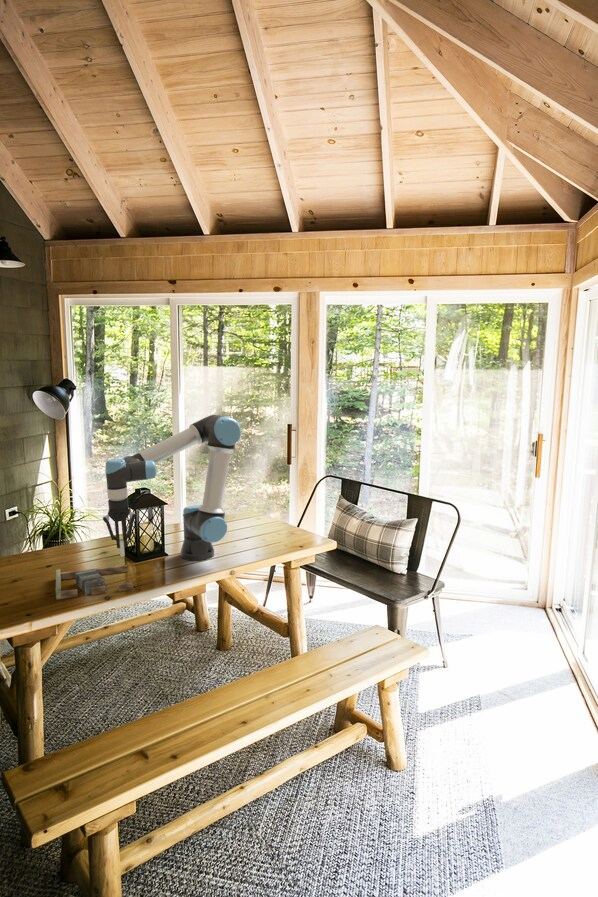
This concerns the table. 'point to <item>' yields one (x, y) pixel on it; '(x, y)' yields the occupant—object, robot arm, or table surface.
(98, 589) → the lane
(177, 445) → the robot arm
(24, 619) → the table surface
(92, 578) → the stone block
